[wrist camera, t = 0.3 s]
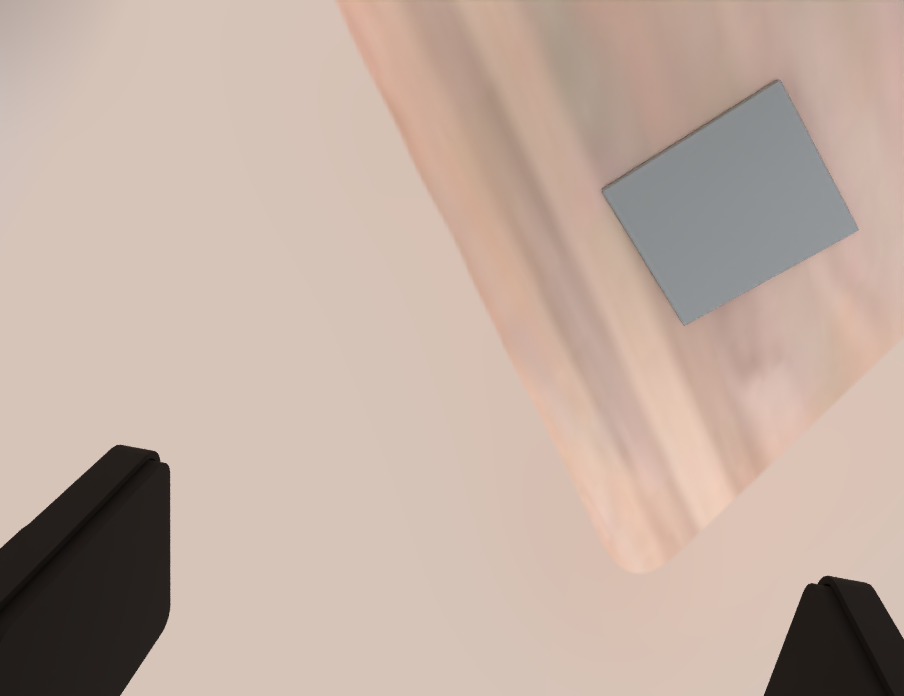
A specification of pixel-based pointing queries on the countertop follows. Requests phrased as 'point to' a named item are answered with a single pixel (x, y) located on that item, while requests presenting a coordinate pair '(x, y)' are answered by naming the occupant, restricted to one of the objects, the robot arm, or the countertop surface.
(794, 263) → the mat
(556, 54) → the countertop surface
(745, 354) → the countertop surface
